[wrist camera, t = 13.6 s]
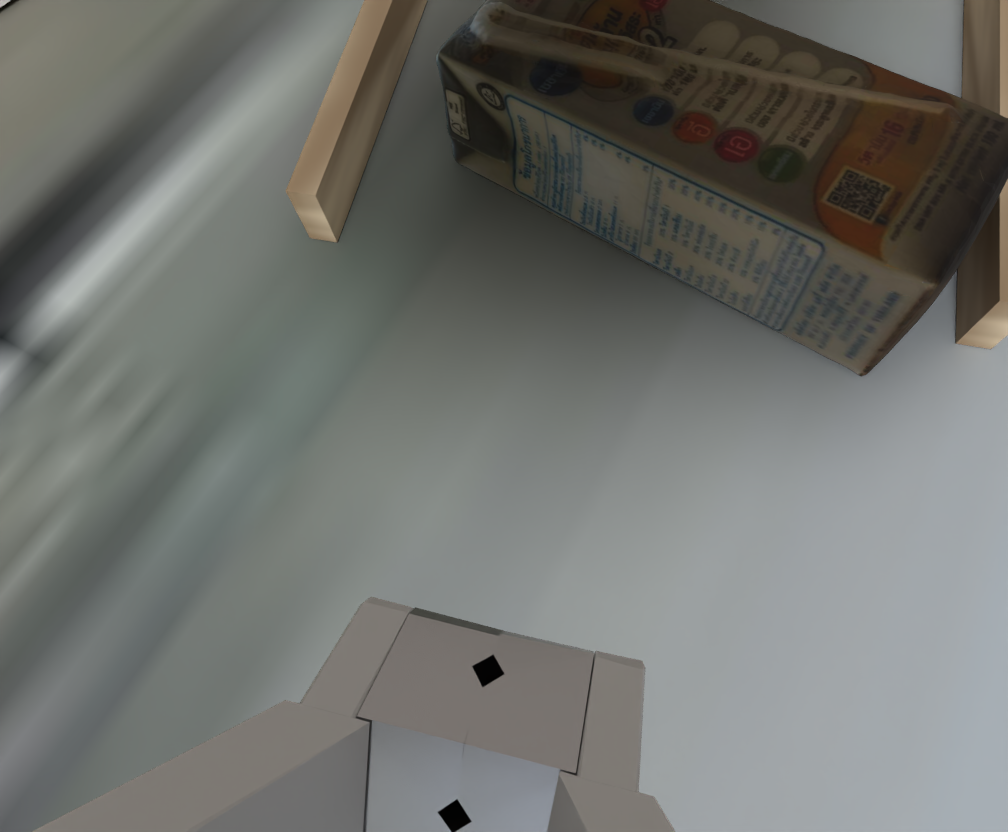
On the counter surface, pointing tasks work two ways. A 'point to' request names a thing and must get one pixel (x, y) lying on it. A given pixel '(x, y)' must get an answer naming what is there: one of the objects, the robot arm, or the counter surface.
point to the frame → (381, 55)
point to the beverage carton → (731, 158)
